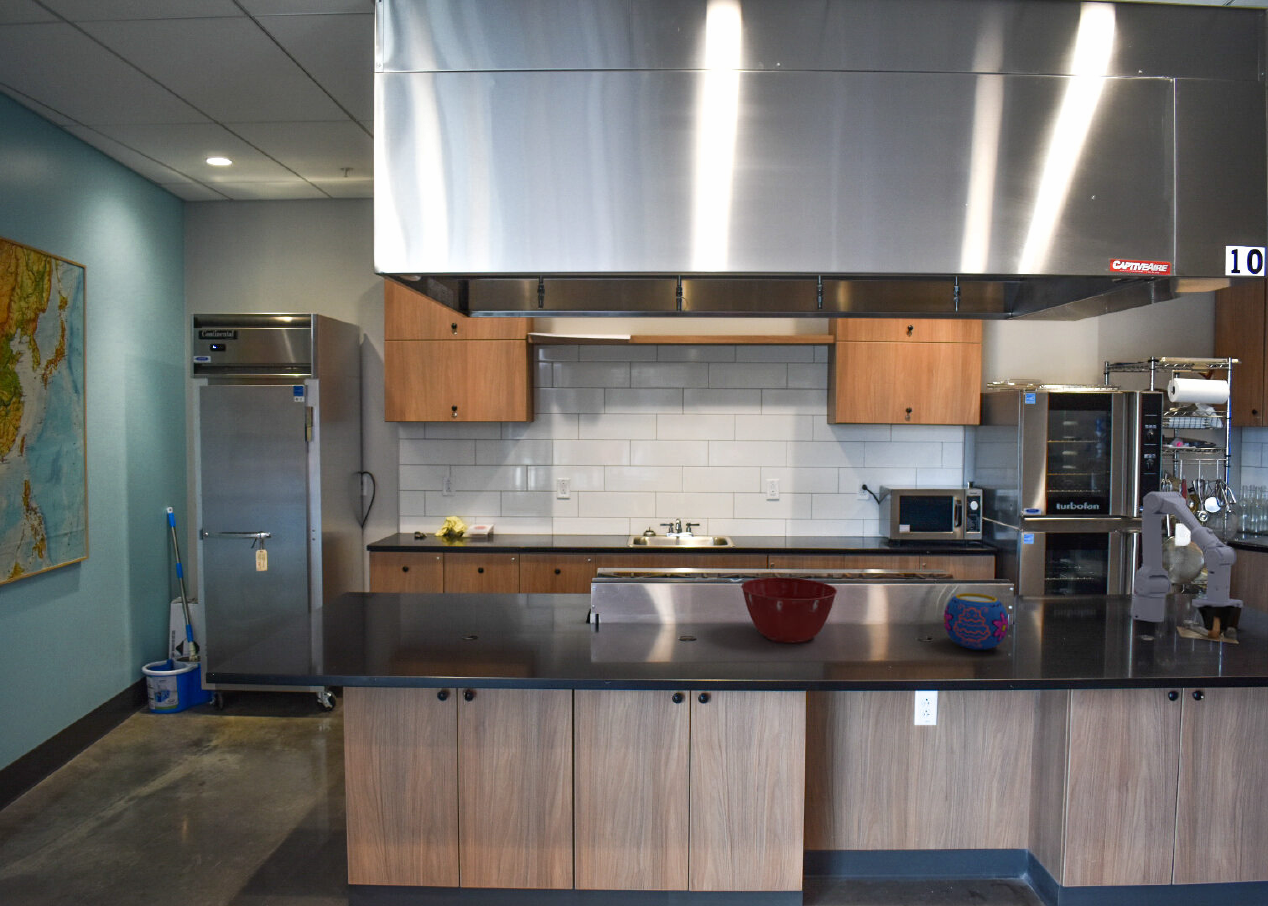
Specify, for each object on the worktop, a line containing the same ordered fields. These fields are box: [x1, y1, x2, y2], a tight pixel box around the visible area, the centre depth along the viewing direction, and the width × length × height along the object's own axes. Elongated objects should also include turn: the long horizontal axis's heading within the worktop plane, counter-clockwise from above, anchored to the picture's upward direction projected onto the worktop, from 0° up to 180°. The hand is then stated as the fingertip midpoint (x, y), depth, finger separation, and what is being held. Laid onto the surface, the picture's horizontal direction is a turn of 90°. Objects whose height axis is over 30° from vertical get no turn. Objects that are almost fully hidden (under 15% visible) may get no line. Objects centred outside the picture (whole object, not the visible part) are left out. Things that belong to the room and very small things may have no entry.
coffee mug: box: [1212, 598, 1243, 631], centre depth 263 cm, size 12×9×10 cm
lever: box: [1183, 617, 1221, 638], centre depth 255 cm, size 14×3×6 cm, turn 179°
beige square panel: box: [1176, 624, 1240, 644], centre depth 254 cm, size 14×14×3 cm
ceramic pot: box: [943, 592, 1010, 651], centre depth 240 cm, size 18×18×15 cm
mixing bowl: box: [740, 577, 838, 644], centre depth 248 cm, size 28×28×15 cm
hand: (1215, 630), depth 250 cm, fingers open, 4 cm apart
